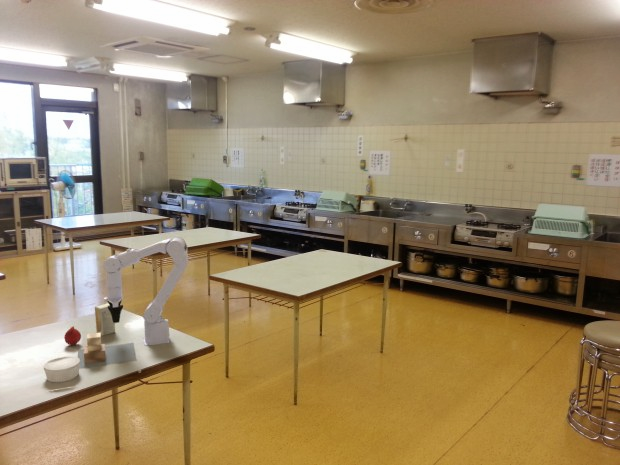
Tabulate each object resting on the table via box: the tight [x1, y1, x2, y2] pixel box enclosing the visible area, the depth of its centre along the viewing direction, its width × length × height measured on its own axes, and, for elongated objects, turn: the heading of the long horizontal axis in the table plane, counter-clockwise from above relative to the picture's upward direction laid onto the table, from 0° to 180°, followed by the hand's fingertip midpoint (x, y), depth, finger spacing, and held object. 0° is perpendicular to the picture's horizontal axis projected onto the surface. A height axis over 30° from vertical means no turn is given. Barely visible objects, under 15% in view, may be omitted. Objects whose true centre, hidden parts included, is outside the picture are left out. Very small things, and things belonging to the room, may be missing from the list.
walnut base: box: [83, 343, 106, 364], centre depth 179 cm, size 7×7×4 cm
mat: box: [77, 342, 138, 370], centre depth 182 cm, size 20×18×1 cm
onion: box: [64, 325, 82, 347], centre depth 191 cm, size 6×6×8 cm
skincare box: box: [94, 302, 116, 336], centre depth 204 cm, size 6×4×12 cm
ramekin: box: [43, 356, 80, 383], centre depth 165 cm, size 11×11×5 cm
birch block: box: [86, 332, 102, 352], centre depth 178 cm, size 4×4×5 cm
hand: (115, 319), depth 193 cm, fingers open, 7 cm apart
